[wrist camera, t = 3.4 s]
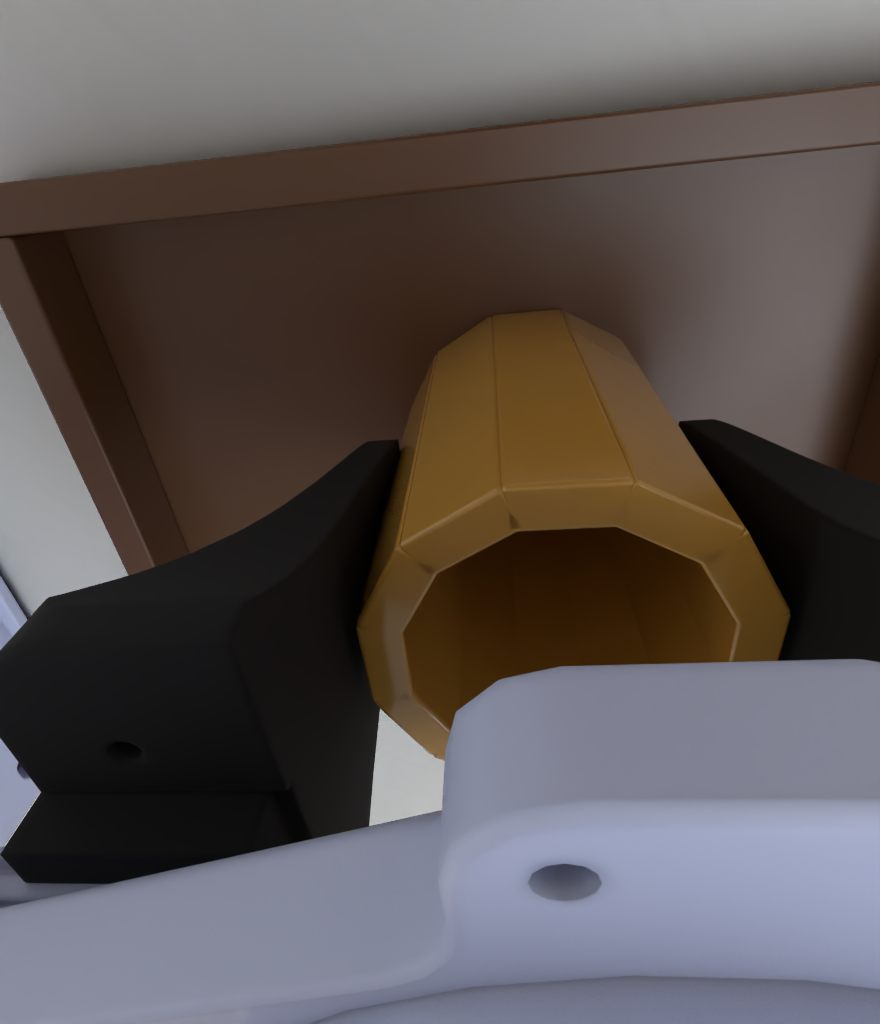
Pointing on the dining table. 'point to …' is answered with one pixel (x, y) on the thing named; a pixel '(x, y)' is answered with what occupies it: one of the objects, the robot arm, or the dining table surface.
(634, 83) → the dining table surface
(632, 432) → the cup
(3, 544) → the dining table surface
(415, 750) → the dining table surface
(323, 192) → the tray
